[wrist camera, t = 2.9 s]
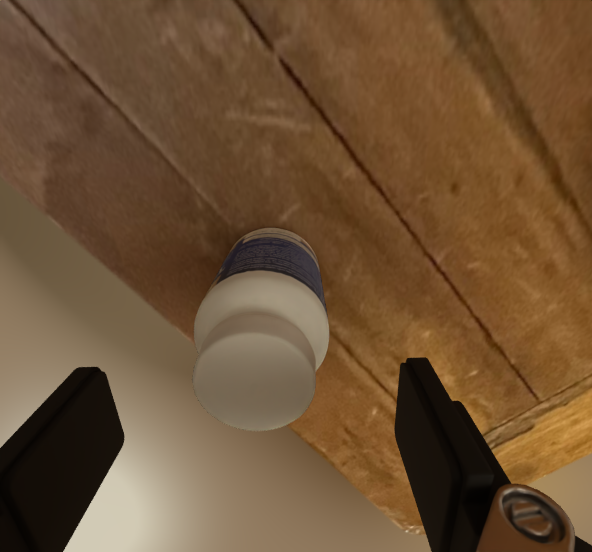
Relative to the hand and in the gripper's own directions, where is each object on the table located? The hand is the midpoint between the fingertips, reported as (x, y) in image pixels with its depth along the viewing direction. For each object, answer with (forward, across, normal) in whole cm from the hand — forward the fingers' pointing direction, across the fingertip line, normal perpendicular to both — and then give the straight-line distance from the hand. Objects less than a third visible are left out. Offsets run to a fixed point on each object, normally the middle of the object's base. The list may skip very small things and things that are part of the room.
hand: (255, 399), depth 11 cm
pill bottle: (+10, 0, 0) cm, 10 cm away
